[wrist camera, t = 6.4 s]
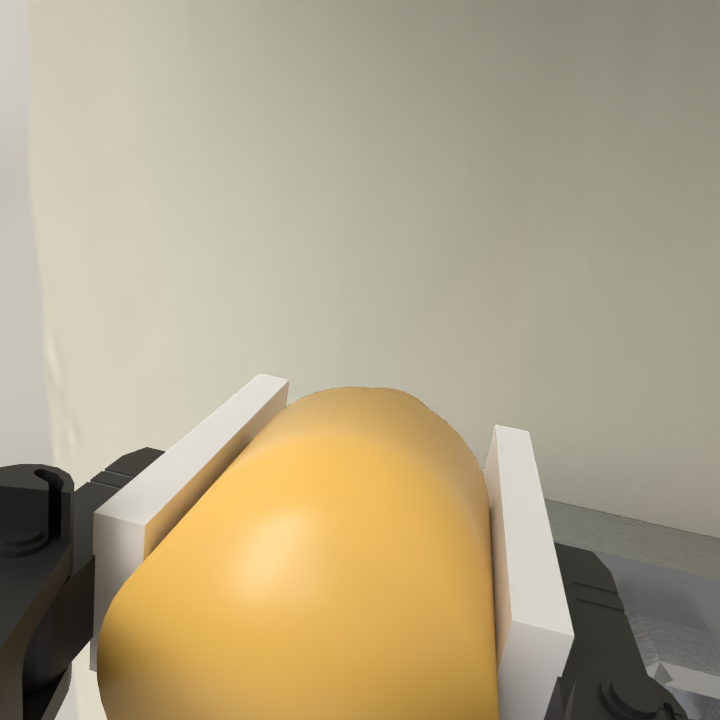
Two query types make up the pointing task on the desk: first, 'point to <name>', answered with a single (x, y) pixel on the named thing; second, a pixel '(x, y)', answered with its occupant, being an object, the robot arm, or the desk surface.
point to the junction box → (659, 597)
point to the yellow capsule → (318, 579)
